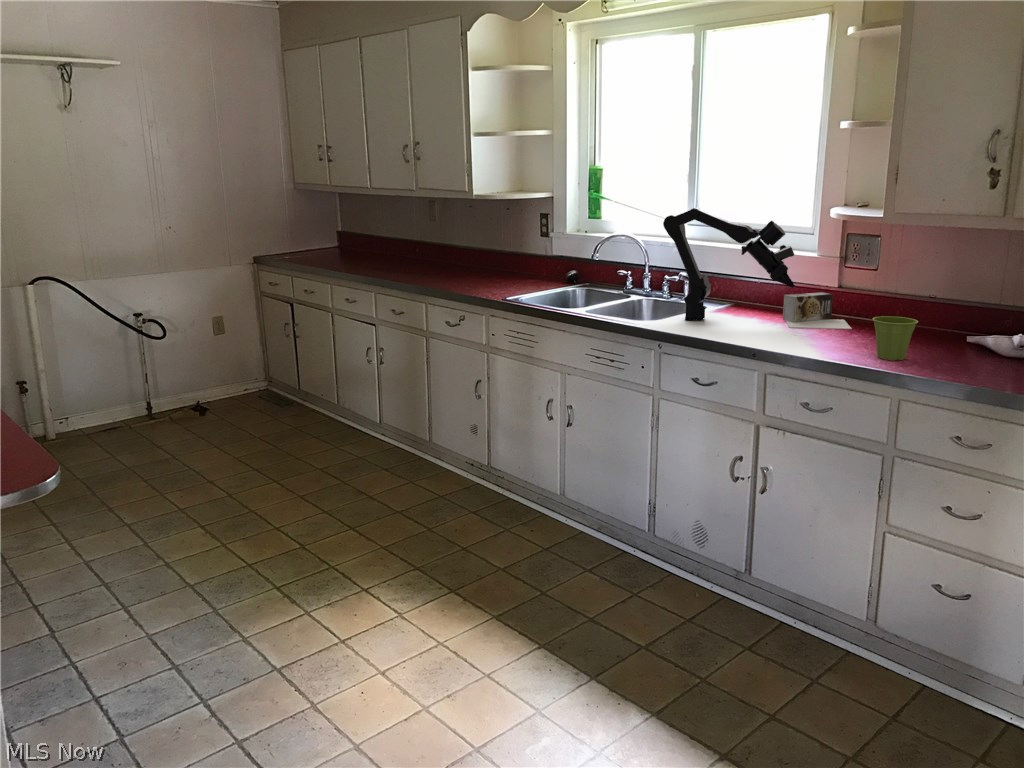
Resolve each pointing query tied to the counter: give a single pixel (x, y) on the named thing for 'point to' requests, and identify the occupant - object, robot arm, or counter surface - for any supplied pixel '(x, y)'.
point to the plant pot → (893, 336)
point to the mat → (820, 324)
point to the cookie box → (807, 307)
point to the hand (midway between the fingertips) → (793, 286)
